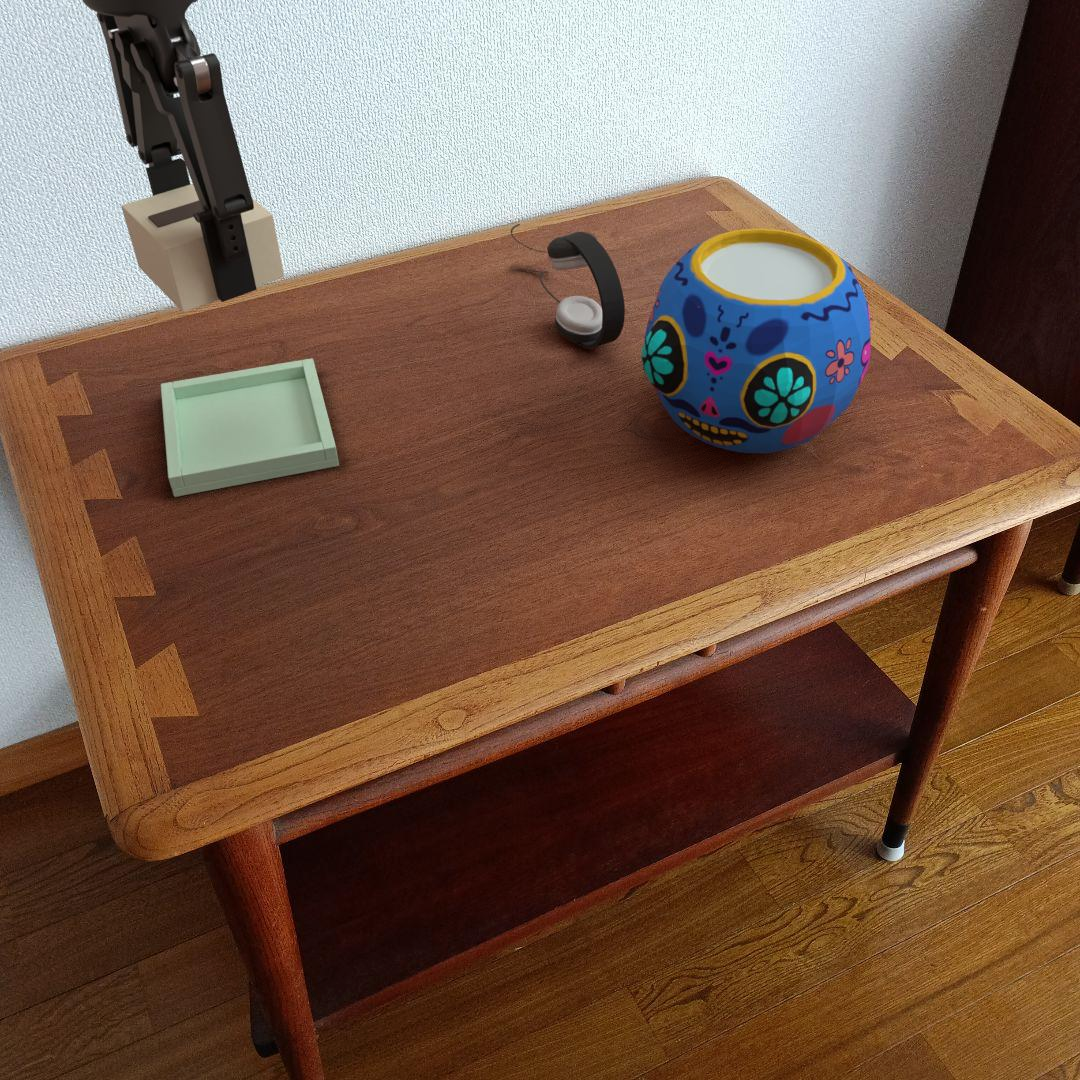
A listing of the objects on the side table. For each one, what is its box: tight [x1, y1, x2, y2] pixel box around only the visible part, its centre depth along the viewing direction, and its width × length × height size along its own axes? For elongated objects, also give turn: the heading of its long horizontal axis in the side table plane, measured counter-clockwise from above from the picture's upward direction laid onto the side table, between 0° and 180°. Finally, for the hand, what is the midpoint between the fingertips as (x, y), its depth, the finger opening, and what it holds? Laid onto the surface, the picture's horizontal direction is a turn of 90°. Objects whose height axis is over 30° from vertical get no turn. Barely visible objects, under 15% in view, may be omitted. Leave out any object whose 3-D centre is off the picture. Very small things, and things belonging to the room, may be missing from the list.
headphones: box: [510, 223, 626, 350], centre depth 102 cm, size 10×4×20 cm
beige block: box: [120, 183, 285, 313], centre depth 80 cm, size 8×8×5 cm
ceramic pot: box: [641, 227, 872, 454], centre depth 88 cm, size 18×18×15 cm
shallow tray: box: [160, 357, 340, 498], centre depth 92 cm, size 13×13×2 cm
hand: (210, 269), depth 82 cm, fingers closed on beige block, 8 cm apart
